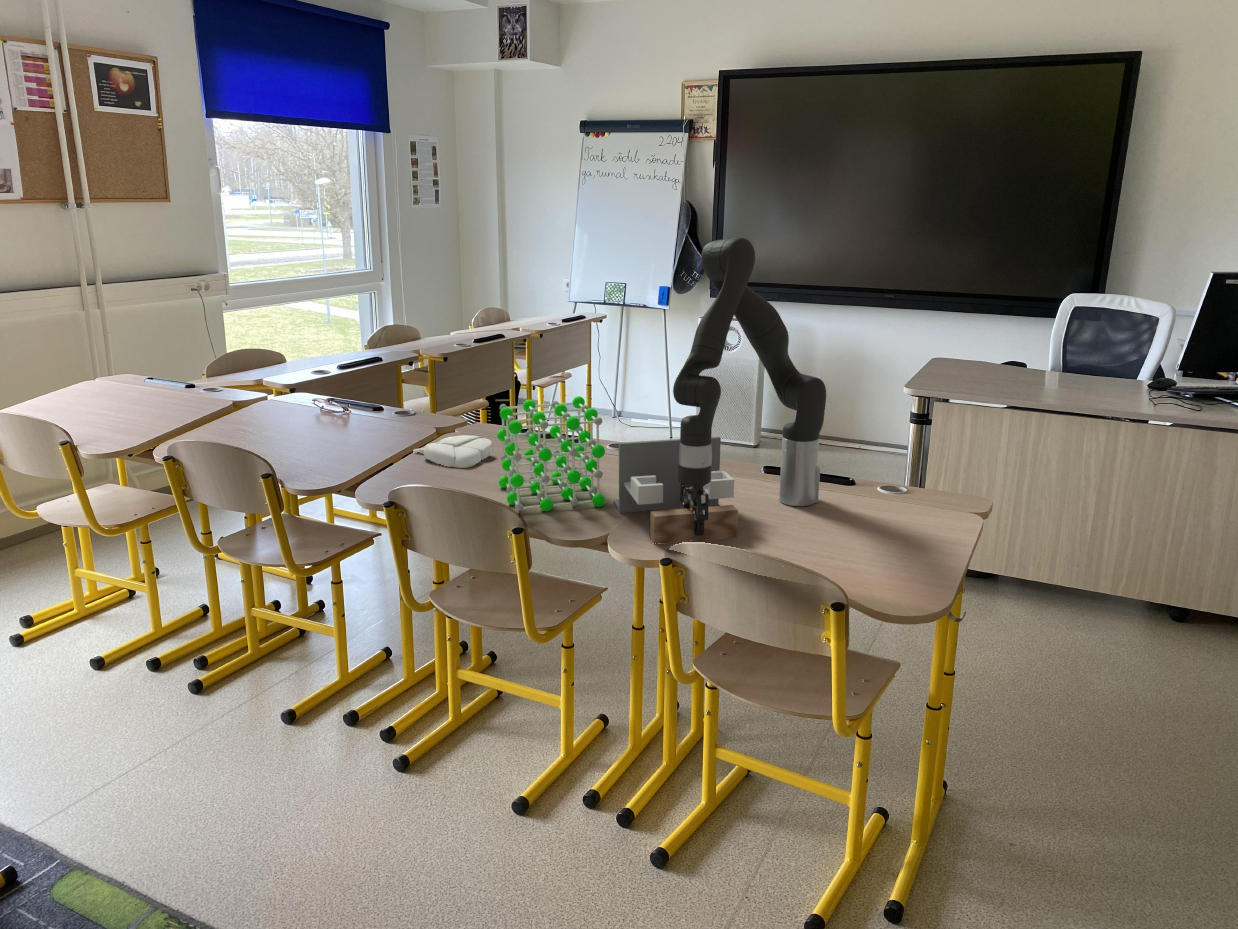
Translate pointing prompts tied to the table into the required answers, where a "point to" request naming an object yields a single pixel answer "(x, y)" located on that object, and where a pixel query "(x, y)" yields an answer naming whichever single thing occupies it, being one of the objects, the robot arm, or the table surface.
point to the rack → (662, 476)
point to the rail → (692, 524)
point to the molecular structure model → (546, 454)
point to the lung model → (458, 451)
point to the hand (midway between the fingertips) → (693, 528)
